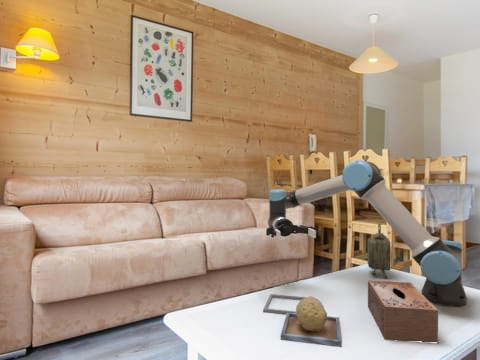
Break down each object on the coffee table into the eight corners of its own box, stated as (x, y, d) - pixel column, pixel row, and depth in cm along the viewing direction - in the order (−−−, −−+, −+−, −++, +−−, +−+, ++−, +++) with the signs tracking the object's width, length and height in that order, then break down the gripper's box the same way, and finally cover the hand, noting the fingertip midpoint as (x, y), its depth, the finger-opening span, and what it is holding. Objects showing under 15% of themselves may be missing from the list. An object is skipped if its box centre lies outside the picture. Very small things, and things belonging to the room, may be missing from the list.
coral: (327, 300, 113) (328, 297, 104) (324, 333, 109) (325, 334, 100) (298, 295, 115) (296, 292, 106) (294, 328, 112) (292, 327, 103)
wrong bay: (309, 300, 133) (309, 297, 133) (306, 316, 118) (306, 313, 118) (270, 296, 137) (270, 294, 137) (263, 312, 122) (263, 309, 122)
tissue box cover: (367, 307, 127) (368, 280, 127) (409, 310, 125) (410, 282, 124) (384, 340, 102) (384, 306, 102) (437, 345, 99) (438, 310, 99)
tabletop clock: (390, 280, 159) (391, 225, 158) (369, 278, 161) (369, 225, 161) (386, 272, 172) (387, 221, 172) (367, 270, 175) (367, 221, 175)
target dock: (339, 321, 114) (339, 317, 114) (341, 346, 97) (341, 341, 97) (287, 316, 118) (287, 312, 118) (280, 339, 102) (280, 334, 101)
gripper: (310, 234, 152) (329, 243, 131) (254, 236, 149) (264, 245, 128) (310, 217, 152) (329, 223, 131) (254, 218, 149) (264, 225, 128)
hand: (297, 234), depth 129 cm, fingers open, 13 cm apart
